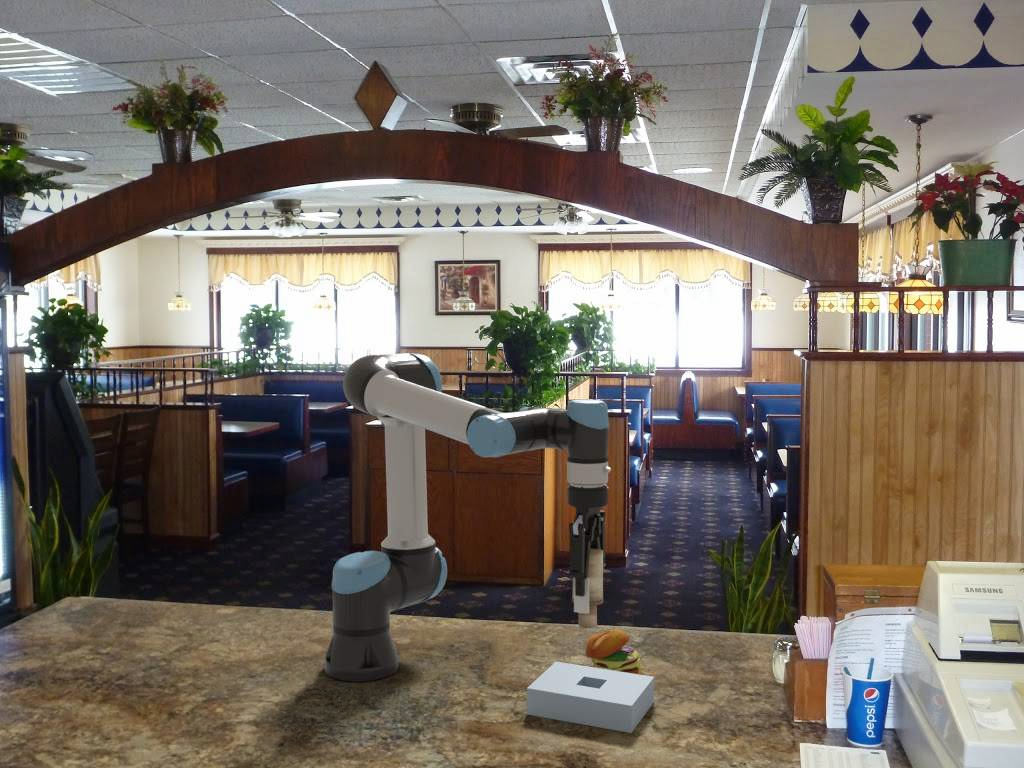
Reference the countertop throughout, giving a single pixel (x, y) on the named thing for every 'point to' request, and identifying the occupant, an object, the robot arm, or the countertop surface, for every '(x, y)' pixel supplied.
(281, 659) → the countertop surface
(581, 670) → the board
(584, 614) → the peg
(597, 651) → the cheeseburger
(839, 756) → the countertop surface
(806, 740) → the countertop surface
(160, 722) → the countertop surface
